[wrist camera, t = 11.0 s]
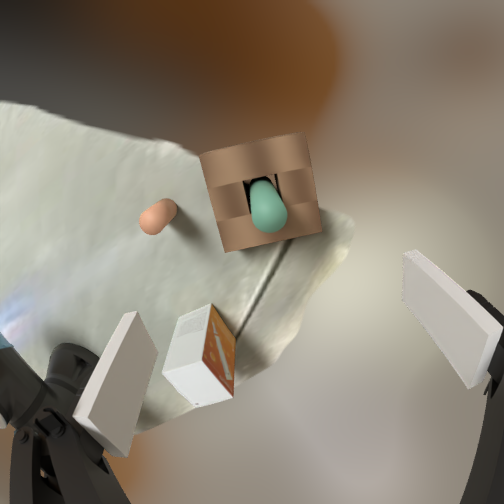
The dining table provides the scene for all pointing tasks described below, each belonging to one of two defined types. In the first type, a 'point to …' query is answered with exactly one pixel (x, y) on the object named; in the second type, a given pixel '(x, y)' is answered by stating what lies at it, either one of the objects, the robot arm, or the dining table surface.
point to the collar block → (253, 166)
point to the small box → (201, 358)
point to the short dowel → (158, 216)
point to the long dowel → (266, 205)
